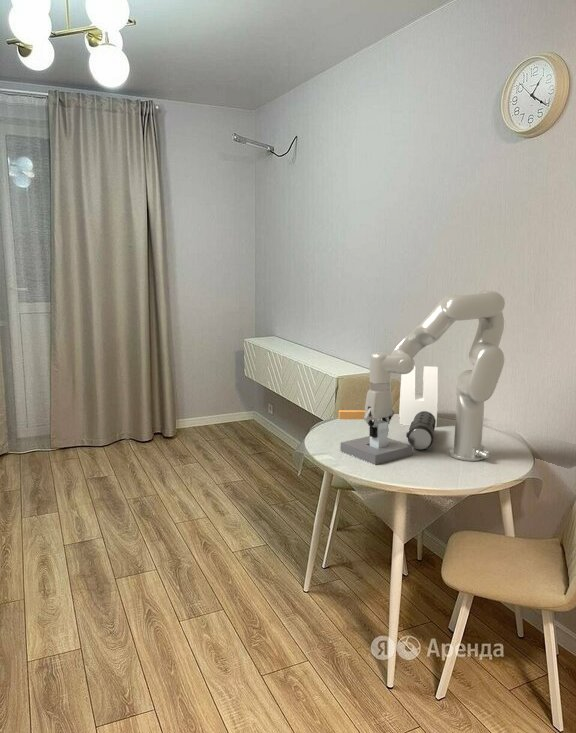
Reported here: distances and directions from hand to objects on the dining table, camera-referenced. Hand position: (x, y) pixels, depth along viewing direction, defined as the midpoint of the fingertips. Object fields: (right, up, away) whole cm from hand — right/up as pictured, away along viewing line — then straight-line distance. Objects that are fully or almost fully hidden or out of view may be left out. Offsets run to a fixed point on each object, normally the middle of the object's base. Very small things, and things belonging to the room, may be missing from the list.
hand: (378, 435), depth 209 cm
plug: (0, -5, +1) cm, 5 cm away
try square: (-6, -2, +11) cm, 13 cm away
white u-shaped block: (+25, 0, +50) cm, 56 cm away
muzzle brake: (+15, -1, +19) cm, 24 cm away
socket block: (-1, -7, +2) cm, 7 cm away
